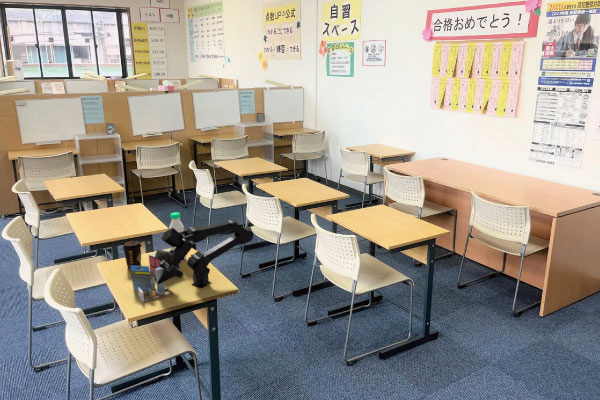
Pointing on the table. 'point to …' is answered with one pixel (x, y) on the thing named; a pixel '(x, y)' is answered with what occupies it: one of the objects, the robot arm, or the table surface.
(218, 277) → the table surface
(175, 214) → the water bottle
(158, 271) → the peg
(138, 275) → the label tape cartridge
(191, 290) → the table surface
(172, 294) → the track
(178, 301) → the table surface
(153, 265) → the puzzle cube
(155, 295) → the ball
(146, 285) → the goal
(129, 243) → the coffee cup
